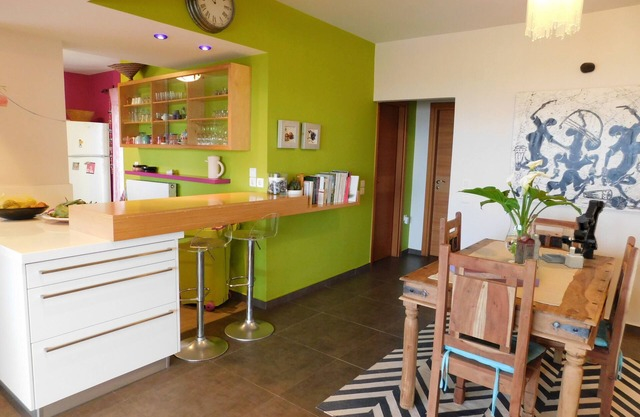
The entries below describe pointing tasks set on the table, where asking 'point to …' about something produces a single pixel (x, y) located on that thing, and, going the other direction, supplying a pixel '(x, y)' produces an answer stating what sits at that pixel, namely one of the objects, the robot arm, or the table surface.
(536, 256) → the plastic bottle
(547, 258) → the bottle holder
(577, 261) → the medicine bottle
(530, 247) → the juice carton
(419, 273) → the table surface
